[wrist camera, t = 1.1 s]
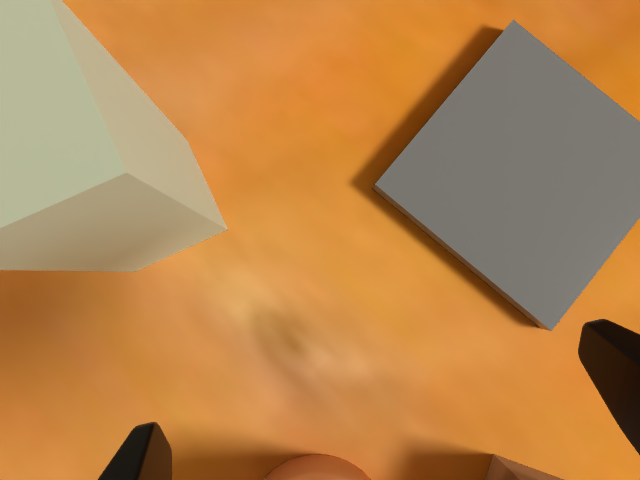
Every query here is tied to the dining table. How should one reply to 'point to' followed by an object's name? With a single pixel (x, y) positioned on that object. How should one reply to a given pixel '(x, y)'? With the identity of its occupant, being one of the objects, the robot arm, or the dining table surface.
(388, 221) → the dining table surface
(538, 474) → the walnut block
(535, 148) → the slate trivet
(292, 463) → the peach cylinder
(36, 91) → the sage block
